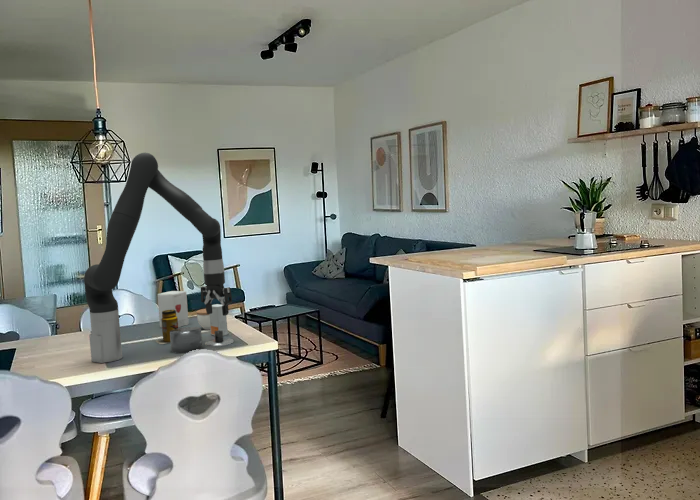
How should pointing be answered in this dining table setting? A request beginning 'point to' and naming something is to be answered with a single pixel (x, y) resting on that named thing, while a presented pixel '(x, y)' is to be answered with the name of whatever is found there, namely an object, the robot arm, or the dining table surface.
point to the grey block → (185, 339)
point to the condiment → (168, 325)
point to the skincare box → (218, 320)
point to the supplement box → (174, 305)
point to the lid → (219, 340)
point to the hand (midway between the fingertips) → (217, 314)
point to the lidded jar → (203, 319)
